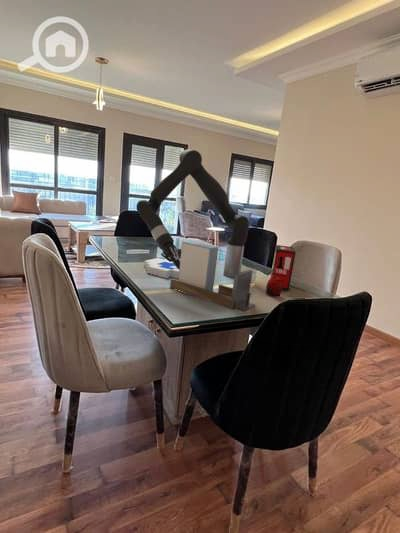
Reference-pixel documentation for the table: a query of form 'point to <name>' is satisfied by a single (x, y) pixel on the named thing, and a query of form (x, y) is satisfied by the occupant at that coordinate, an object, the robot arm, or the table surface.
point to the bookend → (241, 290)
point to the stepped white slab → (161, 268)
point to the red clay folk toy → (274, 286)
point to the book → (198, 264)
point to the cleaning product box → (283, 265)
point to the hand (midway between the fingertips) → (180, 268)
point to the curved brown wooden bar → (207, 293)
